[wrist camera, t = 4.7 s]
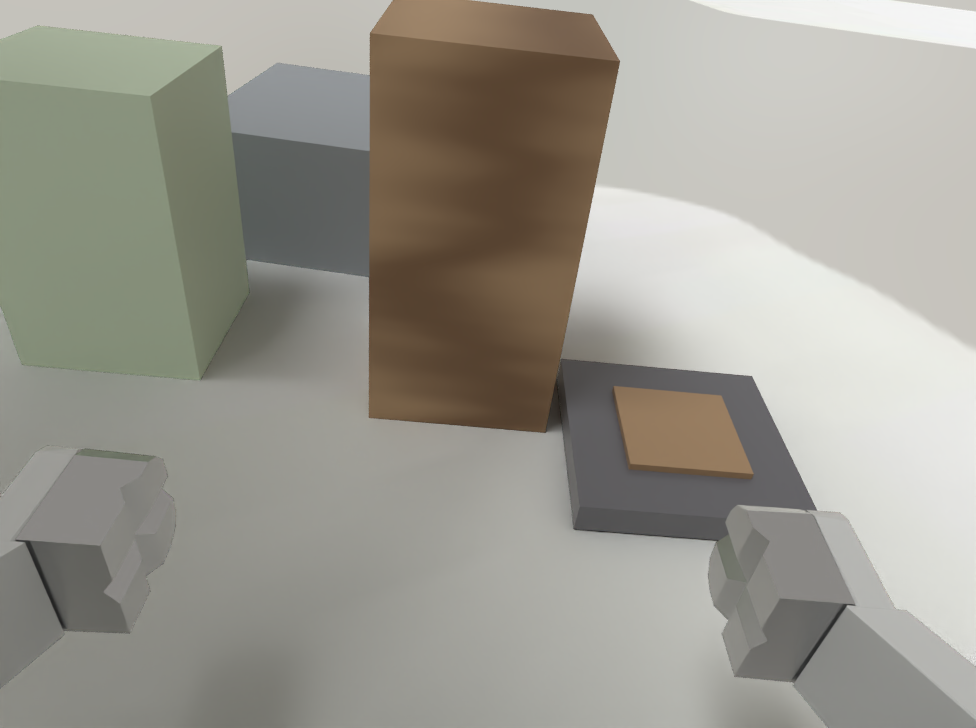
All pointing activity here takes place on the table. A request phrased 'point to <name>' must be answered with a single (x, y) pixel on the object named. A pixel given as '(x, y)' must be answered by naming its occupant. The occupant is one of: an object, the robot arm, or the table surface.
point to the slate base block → (304, 167)
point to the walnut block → (478, 204)
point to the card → (669, 450)
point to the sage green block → (117, 203)
